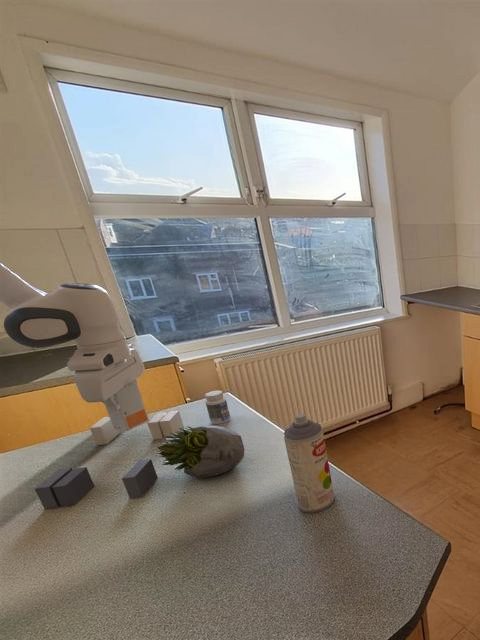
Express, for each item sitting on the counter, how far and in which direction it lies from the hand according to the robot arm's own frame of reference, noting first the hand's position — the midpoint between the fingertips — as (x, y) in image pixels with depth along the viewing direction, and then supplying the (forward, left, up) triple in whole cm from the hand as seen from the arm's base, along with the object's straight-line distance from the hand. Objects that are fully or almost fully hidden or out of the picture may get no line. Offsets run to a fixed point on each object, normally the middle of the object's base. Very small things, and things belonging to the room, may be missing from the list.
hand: (124, 403), depth 108 cm
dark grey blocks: (+6, -26, -9) cm, 28 cm away
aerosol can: (+49, -40, -10) cm, 64 cm away
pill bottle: (+18, +5, -10) cm, 21 cm away
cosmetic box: (0, 0, -6) cm, 6 cm away
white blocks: (+1, 0, -9) cm, 9 cm away
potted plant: (+24, -23, -10) cm, 35 cm away
